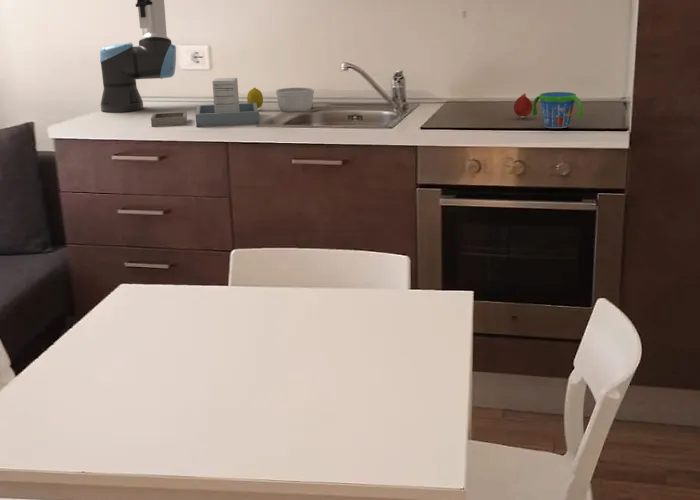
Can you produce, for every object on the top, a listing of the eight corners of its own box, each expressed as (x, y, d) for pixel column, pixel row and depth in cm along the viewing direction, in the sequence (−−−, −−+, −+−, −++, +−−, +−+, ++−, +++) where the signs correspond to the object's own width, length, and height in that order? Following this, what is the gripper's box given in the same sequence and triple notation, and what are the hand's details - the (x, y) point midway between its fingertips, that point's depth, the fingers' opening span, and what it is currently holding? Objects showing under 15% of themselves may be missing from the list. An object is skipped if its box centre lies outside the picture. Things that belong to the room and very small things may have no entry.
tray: (198, 117, 301) (197, 105, 299) (256, 114, 303) (256, 102, 302) (196, 127, 282) (195, 114, 281) (259, 123, 284) (258, 111, 283)
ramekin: (320, 107, 314) (320, 88, 312) (303, 113, 303) (302, 93, 301) (288, 106, 320) (287, 86, 318) (270, 111, 309) (269, 91, 306)
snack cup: (524, 128, 265) (525, 94, 262) (544, 123, 272) (545, 90, 269) (568, 133, 254) (570, 98, 251) (588, 128, 261) (590, 94, 258)
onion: (512, 120, 278) (513, 94, 276) (514, 117, 284) (514, 92, 281) (531, 120, 277) (532, 94, 275) (532, 117, 282) (533, 92, 280)
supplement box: (218, 115, 296) (215, 77, 292) (240, 115, 295) (238, 77, 291) (214, 119, 289) (211, 80, 285) (237, 119, 288) (234, 80, 284)
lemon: (256, 112, 308) (254, 89, 305) (244, 110, 311) (243, 88, 309) (266, 109, 312) (265, 87, 310) (255, 108, 315) (254, 86, 313)
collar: (154, 120, 296) (153, 113, 295) (187, 119, 297) (186, 111, 296) (151, 126, 285) (150, 118, 284) (186, 124, 287) (185, 117, 286)
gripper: (148, -44, 267) (155, 28, 273) (154, -43, 290) (160, 24, 297) (123, -43, 266) (130, 29, 273) (131, -42, 290) (137, 25, 296)
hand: (146, 27), depth 285 cm, fingers open, 13 cm apart
